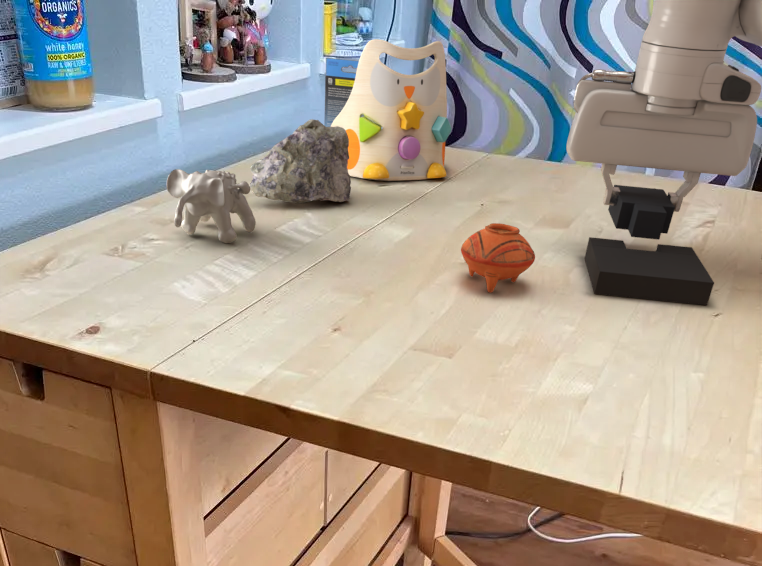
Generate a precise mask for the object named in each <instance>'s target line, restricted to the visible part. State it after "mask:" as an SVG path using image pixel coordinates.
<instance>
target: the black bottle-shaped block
mask: <svg viewBox="0 0 762 566" xmlns="http://www.w3.org/2000/svg"><path fill="white" fill-rule="evenodd" d="M613 187H619V190H620V195H619V197H618V201H617V205H616V206H614V205H608V209H607V211H608V213H609V216H610V218H611V220H612V222H613V225H614V228H615V230H617V229H618V230H626V231H628V233H629V236H630V237H631V238H639V239H646V240H647V239H649V240H657V241H659V240H660V238H661V235H662V234H668V233H669V230H670V226H671V223H672V219H673V216H674V213H675V212H674V209H675V207H674V205H673V203H672V202H671V200H670V199H669V198H668V193H667V192H666V191H665V190H664V189H661V188H653V187H643V186H642V187H641V186H631V185H621V184H614V185H613Z"/></svg>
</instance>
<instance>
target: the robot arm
mask: <svg viewBox="0 0 762 566" xmlns="http://www.w3.org/2000/svg"><path fill="white" fill-rule="evenodd" d="M734 37H736V38H737V39H739V40H741V41H744V42H746V43H749V44H753V45H755V46H758V47H761V48H762V0H652V12H651V16H650V19H649V22H648V25H647V27H646V29H645V31H644V33H643V35H642V38H641V42H640V47H639V51H638V55H637V58H636V59H637V60H636V63H635V68H634V71H625V70H618V71H617V70H616V71H614V70H613V71H612V70H611V71H610V70H606V69H601V68H600V69H593V71H592V72H590V73H587V74H585V75H583V76H582V77H581V78H580V79H579V80H578V82H577V84H576V86H575V91H574V95H573V103H572V104H573V108H574V111H575V113H574V116H573V119H572V123H571V126H570V129H569V133H568V137H567V140H566V146H565V147H566V153H567V155H568V156H569V158H570V160H572V161H574V162H580V163H581V162H582V163H592V164H601V166H600V172H601V176H602V179H603V182H604V185H605V191H604V195H603V205H604V206H609V205H614V206H616V205H617V201H618V197H619V195H620V190H619V187H614V185H613V182H612V179H611V176H610V175H612V176H613V175H616V171H617V166H624V167H633V168H634V167H635V168H646V169H655V170H665V171H675V172H676V171H677V172H683V174H682V178H683V179H684V181H683V183H682V184H680V186H679V187H678V188H677V190H676V191H675V192H671V191H670V192H669V191H668V193H667V196H668V198H669V199H670V200H671V202H672V203H673V205H674V207H675V209H674V213H675V212H676V213H679V212H680V210H681V207H682V204H683V200H684V198H686V196H688V195H689V193H690V192H691V191H692V190H693V189H694V188H695V187H696V186H697V185H698V184H699V181H700V177H701V175H702V174H708V175H720V176H730V177H736V176H739V174H741V173H742V172H743V171H744V170H745V169H746V168H747V166H748V163H749V160H750V157H751V154H752V150H753V147H754V142H755V138H756V133H757V125H758V115H757V112H756V111H755V109H754V108H753V107H752V105H754V104H756V103H757V102H758V100H759V99H760V96H761V92H762V85H761V83H760V82H758V81H757V80H756V79H755V78H753V77H752V76H750V75H748V74H746V73H743V72H742V71H740V69H739V68H737V67H736V66H733V65H730V64H725V61H724V60H725V56H726V53H727V49H728V46H729V43H730V41H731V40H732V39H733V38H734ZM589 78H590V79H589Z"/></svg>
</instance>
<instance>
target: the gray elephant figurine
mask: <svg viewBox="0 0 762 566" xmlns="http://www.w3.org/2000/svg"><path fill="white" fill-rule="evenodd" d="M166 190H167V192H168V194H169V195H170V196H172V197H173V198H175V199H179V200H178V202H177V205H176V208H175V213H174V219H173V222H174V226H175V227H176V228H181V229H182V231H183V232H184V233H185V234H187V235H190V236H191V235H194V233H196V230H197V225H198V224H199V222H202V223H206V222H209V221H210V220H211V218H212V220H213V222H214V224H215V226H216V228H217V231H218V233H217V238H218V240H219V241H220V242H222V244H223V243H224V244H231V243H233V242H235V241H236V239H237V236H238V235H237V233H236V231H235V230H234V227H233V224H232V218H231V214H236V215H237V216H238V217H239V219H240V222H241V223H242V227H243V228H244V230H245V231H246V232H247V233H253V232H254V231H255V228H256V225H257V224H256V223H257V222H256V218H255V216H254V214H253V211H252V208H251V207H250V205H249V202H248V200H247V198H246V196H245V195H248V194H249V193H250V192H251V188H250V183H248V181H246V180H245V181H243V180H242V181H240V183H237V178H236V174H235V173H231V172H230V171H225V170H211V169H206V170H205V171H204V172H203V173H202V172H200V171H198V170H196V171H194V172H191V173H188V172H187V171H185V170H183V169H180V168H176V169H175V168H174V169H173V170H171V171H170V173H169V174H168V176H167V179H166Z"/></svg>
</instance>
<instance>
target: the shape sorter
mask: <svg viewBox="0 0 762 566" xmlns="http://www.w3.org/2000/svg"><path fill="white" fill-rule="evenodd" d="M382 54H386V55H388V56H390V57H393V58H395V59H399V60H403V61H419V60H422V59H426V58H428V57H431V56H432V55H433V56H434V61H433V64H432V65H430V66H429V67H428V68H427V69H425V70H424V71H422V72H419V73H415V74H405V73H401V72H398V71H396V70H394V69H392V68H391V67H389V66H387V65H386V64H385V63H383V62H382V61H381V59H380V57H381V55H382ZM358 61H359V63H358V67H357V69H356V71H355V73H356V77H355V82H354V85H353V89H352V92H351V94H350V96H349V99H348V101H347V103H346V104H345V106H344V108H343V109H342V111H341V112H340V113H339V115H338V116H337V117H336V118H335V120H334V121H333V123H332V125H331V127H336V126H339V127H342V128H344V129H345V130H346V133H347V135H348V138H349V146H348V152H349V159H348V166H347V169H348V174H349V175H350V177H353V178H358V179H365V180H372V181H387V182H390V181H392V182H393V181H418V180H419V181H420V180H430V179H441V178H446V177H447V171H446V168H445V161H446V160H445V159H446V142H447V139H448V138H449V136H450V135H451V133H452V126H451V124H450V121H449V119H448V94H447V93H448V92H447V91H448V90H447V65H446V63H447V62H446V52H445V48H444V45H443V43H442V41H440V40H436V41H433V42H430V43H429V44H426V45H425V46H424V45H423V46H422V47H421V46H420V47H415V48H413V47H411V48H410V47H403V46H399V45H396V44H393V43H391V42H389V41H387V40H384V39H379V38H374V39H371V40H369V41H367V43H366V44H365V46H364V48H363V50H362V52H361V54H360V56H359V60H358ZM361 115H364V116H365V117H361Z"/></svg>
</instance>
